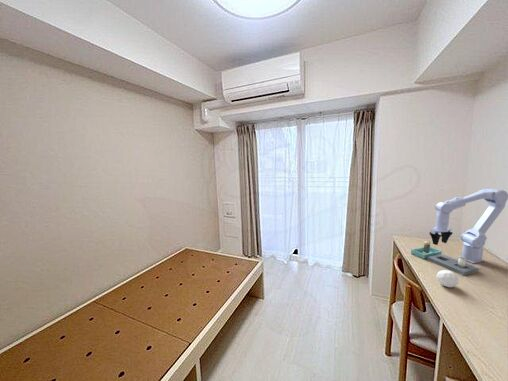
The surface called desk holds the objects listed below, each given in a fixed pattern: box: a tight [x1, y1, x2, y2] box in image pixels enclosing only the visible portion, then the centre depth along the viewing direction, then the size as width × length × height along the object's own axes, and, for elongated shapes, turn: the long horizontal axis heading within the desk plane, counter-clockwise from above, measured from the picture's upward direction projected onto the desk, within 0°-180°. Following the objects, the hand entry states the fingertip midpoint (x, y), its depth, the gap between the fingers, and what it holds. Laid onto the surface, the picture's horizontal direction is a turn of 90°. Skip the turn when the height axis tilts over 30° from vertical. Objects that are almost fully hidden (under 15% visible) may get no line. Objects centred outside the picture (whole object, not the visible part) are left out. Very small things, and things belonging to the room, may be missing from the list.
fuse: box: [457, 254, 467, 269], centre depth 117 cm, size 3×3×8 cm
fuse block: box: [426, 253, 479, 276], centre depth 122 cm, size 12×18×2 cm, turn 17°
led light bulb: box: [423, 240, 431, 254], centre depth 135 cm, size 3×3×8 cm
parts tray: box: [410, 246, 443, 260], centre depth 135 cm, size 15×8×3 cm, turn 107°
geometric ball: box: [436, 269, 459, 288], centre depth 103 cm, size 8×8×8 cm
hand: (439, 243), depth 130 cm, fingers open, 7 cm apart
